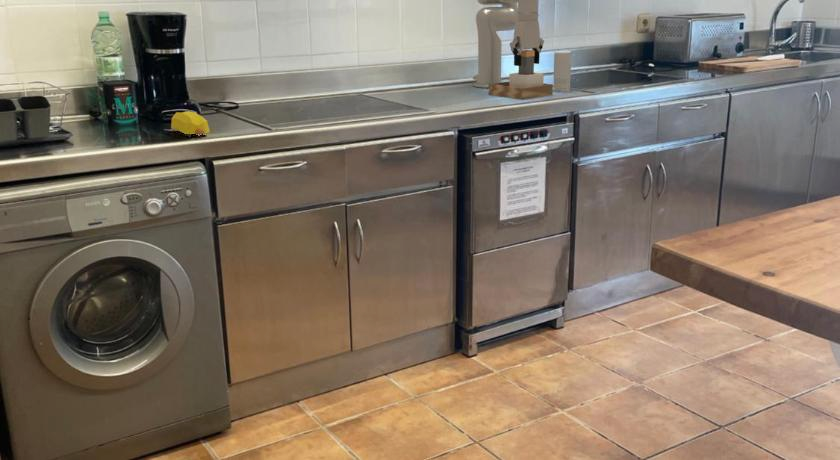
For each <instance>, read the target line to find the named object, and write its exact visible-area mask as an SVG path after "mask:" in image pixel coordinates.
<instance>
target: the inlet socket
mask: <svg viewBox="0 0 840 460" xmlns="http://www.w3.org/2000/svg"><path fill="white" fill-rule="evenodd" d="M544 77H545V76H544V73H541V72H534V74H530V75H523V74H519V72H514V73H509V77H508V78H509V86H511V87H519V88H527V87H534V86H541V85H543V83H544Z"/></svg>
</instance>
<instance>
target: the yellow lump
mask: <svg viewBox="0 0 840 460" xmlns="http://www.w3.org/2000/svg"><path fill="white" fill-rule="evenodd" d="M170 125H171V126H170V129H171V130H173V129H175V130H178V131H180V132H182V133H184V134H197V135H198V134H199V135H200V134H203V133H208V134H209V133H210V130H211V129H210V126H209V124H208V120H207V119H206V118H204V117H203V116H202V115H200V114H198V113H196V112H194V111H189V110H187V111H182V112H178V111H177V112H175V114H173V116H172V117H171V124H170ZM184 134H183V135H184Z"/></svg>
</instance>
